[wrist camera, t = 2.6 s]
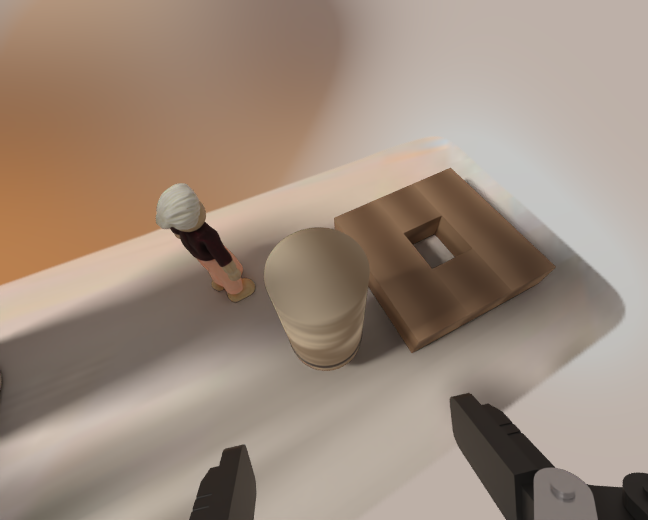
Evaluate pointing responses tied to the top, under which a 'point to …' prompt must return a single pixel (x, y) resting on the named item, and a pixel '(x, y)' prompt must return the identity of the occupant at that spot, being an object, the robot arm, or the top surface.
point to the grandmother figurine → (202, 240)
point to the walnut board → (450, 277)
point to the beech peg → (319, 294)
